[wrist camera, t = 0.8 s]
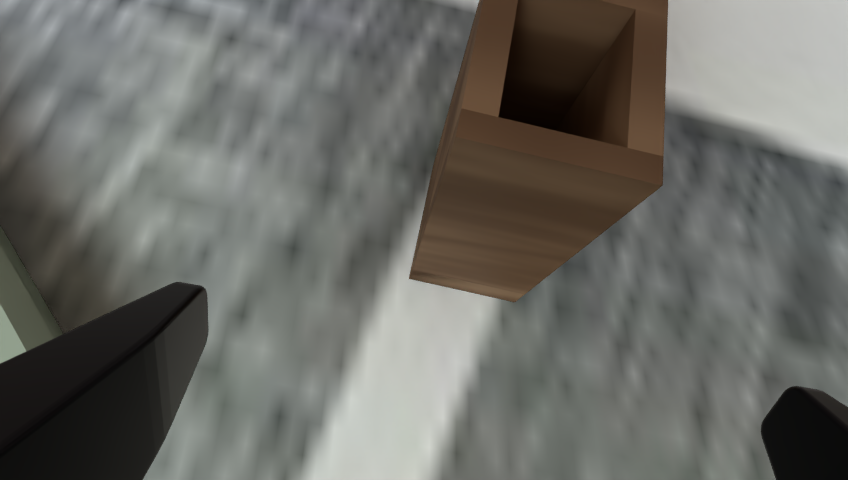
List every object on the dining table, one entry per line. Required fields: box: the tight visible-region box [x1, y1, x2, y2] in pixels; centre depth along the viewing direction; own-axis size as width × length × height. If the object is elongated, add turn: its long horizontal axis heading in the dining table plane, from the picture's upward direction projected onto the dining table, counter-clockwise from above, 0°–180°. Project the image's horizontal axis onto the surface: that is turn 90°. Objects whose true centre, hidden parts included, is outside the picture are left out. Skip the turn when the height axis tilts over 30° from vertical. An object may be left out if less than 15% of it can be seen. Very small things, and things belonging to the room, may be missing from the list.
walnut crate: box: [409, 0, 668, 302], centre depth 19 cm, size 6×5×12 cm
